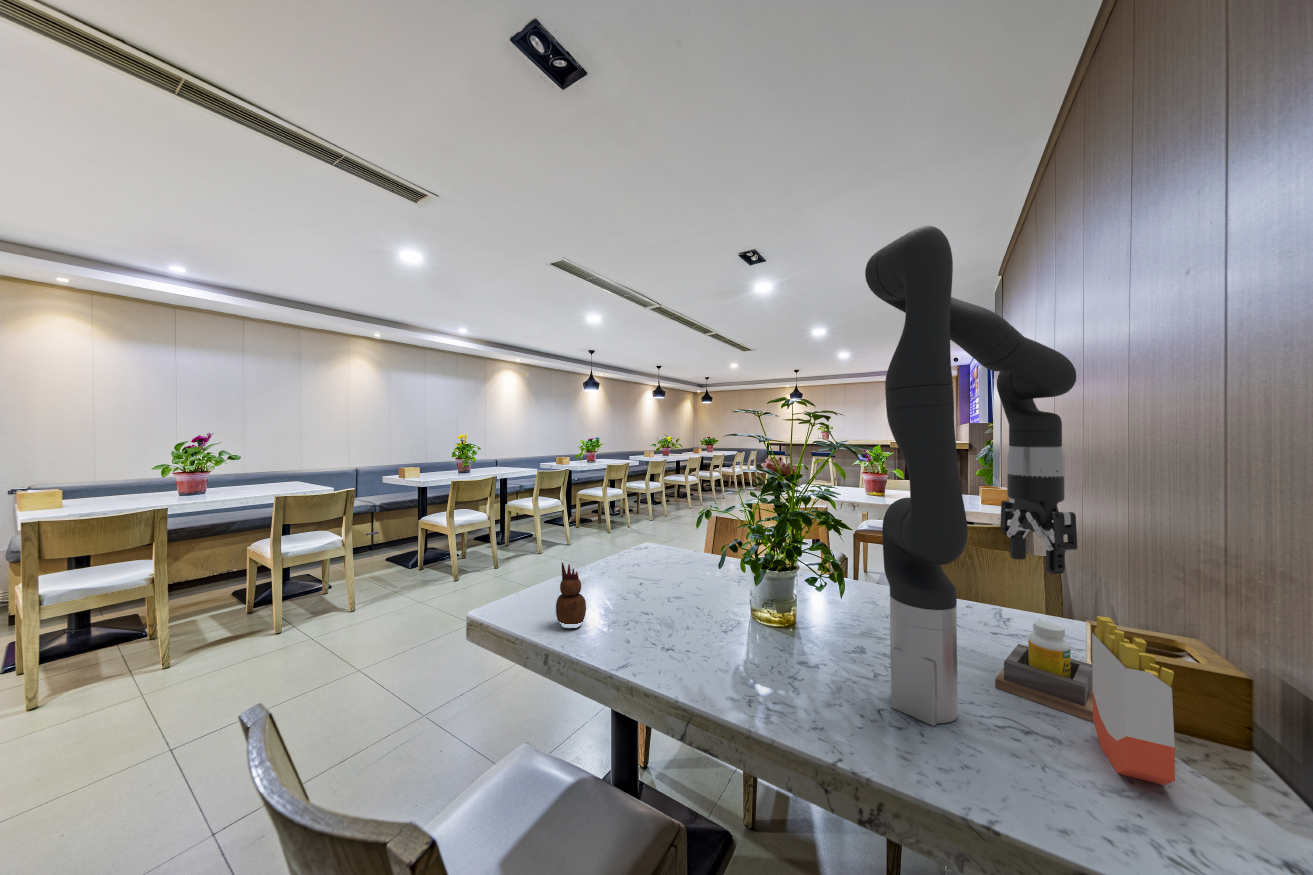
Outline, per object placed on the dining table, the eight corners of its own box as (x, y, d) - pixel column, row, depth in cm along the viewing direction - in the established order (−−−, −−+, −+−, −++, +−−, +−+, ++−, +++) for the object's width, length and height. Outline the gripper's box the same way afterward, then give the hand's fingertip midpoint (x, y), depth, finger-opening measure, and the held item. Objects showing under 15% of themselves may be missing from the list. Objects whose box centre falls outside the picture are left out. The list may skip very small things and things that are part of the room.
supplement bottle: (1030, 669, 78) (1030, 615, 78) (1071, 681, 74) (1071, 624, 74) (1026, 681, 75) (1026, 625, 75) (1069, 694, 71) (1069, 635, 71)
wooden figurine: (551, 630, 100) (551, 564, 100) (564, 619, 106) (563, 557, 106) (578, 633, 98) (577, 566, 98) (589, 622, 104) (589, 559, 104)
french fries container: (1136, 745, 61) (1135, 616, 61) (1180, 802, 52) (1178, 650, 52) (1092, 734, 63) (1091, 610, 63) (1125, 787, 54) (1124, 642, 54)
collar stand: (1093, 721, 66) (1092, 692, 66) (995, 687, 75) (995, 661, 75) (1103, 691, 74) (1102, 665, 74) (1013, 663, 83) (1012, 640, 83)
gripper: (1094, 476, 69) (1095, 579, 69) (1028, 469, 83) (1028, 555, 83) (1042, 476, 70) (1043, 578, 70) (985, 469, 84) (986, 554, 84)
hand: (1035, 565), depth 76 cm, fingers open, 8 cm apart
